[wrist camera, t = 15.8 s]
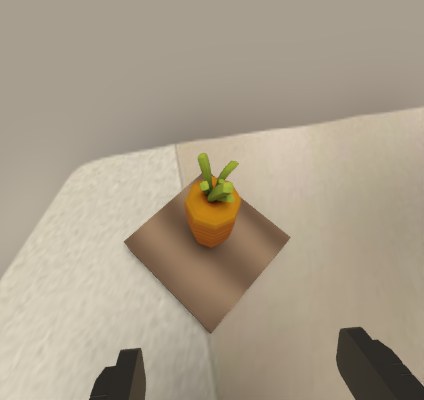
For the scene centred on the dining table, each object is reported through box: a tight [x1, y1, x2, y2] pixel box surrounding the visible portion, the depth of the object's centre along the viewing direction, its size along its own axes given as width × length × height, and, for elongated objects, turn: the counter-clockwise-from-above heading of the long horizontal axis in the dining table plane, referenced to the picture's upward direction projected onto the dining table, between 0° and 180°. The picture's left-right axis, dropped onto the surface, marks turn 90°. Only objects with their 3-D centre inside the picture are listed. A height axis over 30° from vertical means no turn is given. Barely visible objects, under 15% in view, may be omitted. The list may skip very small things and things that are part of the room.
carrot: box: [184, 153, 242, 248], centre depth 26 cm, size 5×5×15 cm
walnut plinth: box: [124, 174, 291, 333], centre depth 34 cm, size 14×14×3 cm
